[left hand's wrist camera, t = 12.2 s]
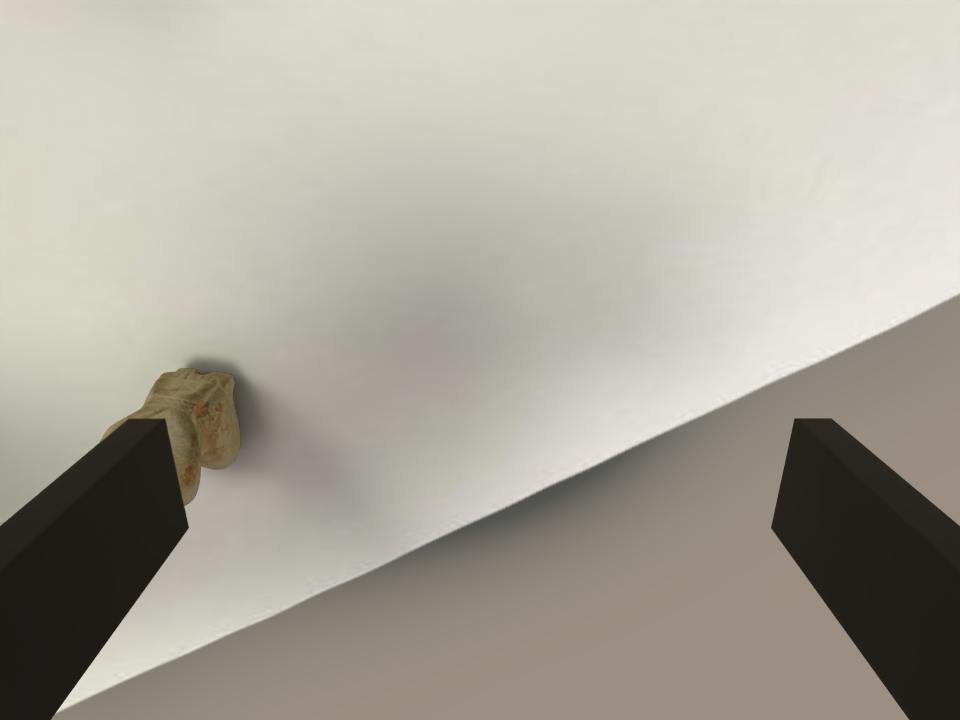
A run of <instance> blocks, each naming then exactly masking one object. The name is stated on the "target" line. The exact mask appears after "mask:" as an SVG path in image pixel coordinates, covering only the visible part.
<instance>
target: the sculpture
mask: <svg viewBox="0 0 960 720" xmlns="http://www.w3.org/2000/svg"><path fill="white" fill-rule="evenodd" d="M234 388H235V382H234V378H233V376H232V375H230V374H227V373H222V372H211V373H209V374H205V375H201V374H200V372H199V371H198V370H196V369H183V368H181V369H178V370H177V371H176V372H167V373H164V374H162V375H161V377H160V378H159V379H158V380H157V381H156V382H155V384H154V385H153V387H152V389H151V391H150V392H149V394H148V396H147V399H146V401H145V404H144V406H143V407H142V408H141V409H140V410H138V411H137V412H135V413H133V414H131V415H129V416H127V417H126V418H124V419H122V420H120V421H118V422H117V423H115V424H114V425H112V426H111V427H110V428H109V429H108V430H107V431H106V433H105V434H104V436H103V437H102V439H101V441H102V440H104V439H105V438H106V437H107V436H108V435H110V434H111V433H112V432H113V431H114V430H116V429H117V428H118V427H119V426H120V425H121V424H123V423H124V422H125V421H126V420H127V419H166V424H167V428H168V433H169V438H170V442H171V447H172V452H173V456H174V461H175V466H176V470H177V475H178V480H179V484H180V489H181V494H182V498H183V503H184V506H185V505H187V504H189V503H190V502H191V501H192V500H193V499H194V497H195V496H196V494H197V491H198V487H199V482H200V474H201V466H202V467H206V468H210V469H216V470H217V469H223V468H225V467H227V466H229V465H230V464H231V463H233V462H234V461H235V459H236V457H237V455H238V452H239V449H240V443H241V435H240V428H239V423H238V417H237V413H236V410H235V406H234V401H233V389H234ZM101 441H100V442H101Z"/></svg>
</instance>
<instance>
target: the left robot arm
mask: <svg viewBox="0 0 960 720" xmlns="http://www.w3.org/2000/svg"><path fill="white" fill-rule="evenodd" d="M188 528H189V526H188V522H187V517H186V512H185V508H184V503H183V498H182V494H181V489H180V484H179V480H178V475H177V470H176V466H175V461H174V456H173V452H172V447H171V442H170V438H169V433H168V428H167V424H166V419H127V420H126V421H125V422H124V423H123V424H121V425H120V426H119V427H118V428H117V429H116V430H114V431H113V432H112V433H111V434H110V435H108V436H107V437H106V438H105V439H104V440H102V441H101V442H100V443H99V444H98V445H96V446H95V447H94V448H93V449H92V450H90V451H89V452H88V453H87V454H86V455H85V456H83V457H82V458H81V459H80V460H79V461H77V462H76V463H75V464H74V465H73V466H71V467H70V468H69V469H68V470H67V471H65V472H64V473H63V474H62V475H61V476H59V477H58V478H57V479H56V480H55V481H54V482H52V483H51V484H50V485H49V486H48V487H46V488H45V489H44V490H43V491H42V492H40V493H39V494H38V495H37V496H36V497H34V498H33V499H32V500H31V501H30V502H28V503H27V504H26V505H25V506H24V507H23V508H21V509H20V510H19V511H18V512H17V513H15V514H14V515H13V516H12V517H11V518H9V519H8V520H7V521H6V522H5V523H3V524H2V525H1V526H0V720H51V719H52V717H53V716H54V714H55V713H56V712H57V710H58V709H59V707H60V706H61V705H62V703H63V702H64V701H65V699H66V698H67V696H68V695H69V694H70V692H71V691H72V689H73V688H74V687H75V685H76V684H77V683H78V681H79V680H80V678H81V677H82V676H83V674H84V673H85V671H86V670H87V669H88V667H89V666H90V664H91V663H92V662H93V660H94V659H95V658H96V656H97V655H98V653H99V652H100V651H101V649H102V648H103V646H104V645H105V644H106V642H107V641H108V639H109V638H110V637H111V635H112V634H113V633H114V631H115V630H116V628H117V627H118V626H119V624H120V623H121V621H122V620H123V619H124V617H125V616H126V614H127V613H128V612H129V610H130V609H131V608H132V606H133V605H134V603H135V602H136V601H137V599H138V598H139V596H140V595H141V594H142V592H143V591H144V590H145V588H146V587H147V585H148V584H149V583H150V581H151V580H152V578H153V577H154V576H155V574H156V573H157V571H158V570H159V569H160V567H161V566H162V565H163V563H164V562H165V560H166V559H167V558H168V556H169V555H170V553H171V552H172V551H173V549H174V548H175V546H176V545H177V544H178V542H179V541H180V540H181V538H182V537H183V535H184V534H185V533H186V531H187V530H188ZM771 528H772V530H773V531H774V533H775V534H776V535H777V537H778V538H779V540H780V541H781V542H782V544H783V545H784V546H785V548H786V549H787V551H788V552H789V553H790V555H791V556H792V558H793V559H794V560H795V562H796V563H797V565H798V566H799V567H800V569H801V570H802V571H803V573H804V574H805V576H806V577H807V578H808V580H809V581H810V582H811V584H812V585H813V587H814V588H815V589H816V591H817V592H818V594H819V595H820V596H821V598H822V599H823V601H824V602H825V603H826V605H827V606H828V608H829V609H830V610H831V612H832V613H833V614H834V616H835V617H836V619H837V620H838V621H839V623H840V624H841V626H842V627H843V628H844V630H845V631H846V632H847V634H848V635H849V637H850V638H851V639H852V641H853V642H854V644H855V645H856V646H857V648H858V649H859V651H860V652H861V653H862V655H863V656H864V657H865V659H866V660H867V662H868V663H869V664H870V666H871V667H872V669H873V670H874V671H875V673H876V674H877V676H878V677H879V678H880V680H881V681H882V682H883V684H884V685H885V687H886V688H887V689H888V691H889V692H890V694H891V695H892V696H893V698H894V699H895V701H896V702H897V703H898V705H899V706H900V707H901V709H902V710H903V712H904V713H905V714H906V716H907V717H908V719H909V720H960V526H959V525H958V524H957V523H955V522H954V521H953V520H952V519H951V518H949V517H948V516H947V515H946V514H945V513H943V512H942V511H941V510H940V509H939V508H937V507H936V506H935V505H934V504H933V503H931V502H930V501H929V500H928V499H927V498H926V497H924V496H923V495H922V494H921V493H920V492H918V491H917V490H916V489H915V488H914V487H912V486H911V485H910V484H909V483H908V482H906V481H905V480H904V479H903V478H902V477H900V476H899V475H898V474H897V473H896V472H895V471H893V470H892V469H891V468H890V467H889V466H887V465H886V464H885V463H884V462H883V461H881V460H880V459H879V458H878V457H877V456H875V455H874V454H873V453H872V452H871V451H870V450H868V449H867V448H866V447H865V446H864V445H862V444H861V443H860V442H859V441H858V440H856V439H855V438H854V437H853V436H852V435H850V434H849V433H848V432H847V431H846V430H844V429H843V428H842V427H841V426H840V425H839V424H837V423H836V422H835V421H834V420H833V419H794V424H793V428H792V433H791V438H790V442H789V447H788V452H787V456H786V461H785V466H784V470H783V475H782V480H781V484H780V489H779V494H778V498H777V503H776V508H775V513H774V517H773V522H772V526H771Z"/></svg>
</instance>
